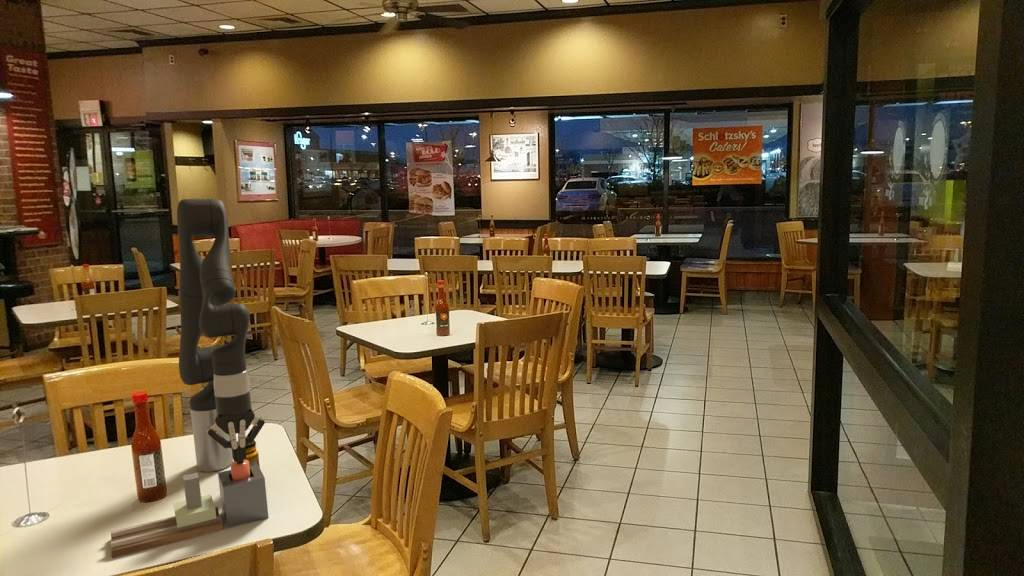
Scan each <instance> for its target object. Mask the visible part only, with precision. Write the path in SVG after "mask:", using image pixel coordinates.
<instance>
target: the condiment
mask: <svg viewBox="0 0 1024 576" xmlns="http://www.w3.org/2000/svg"><path fill="white" fill-rule="evenodd" d="M237 445H239V443H238V440H237ZM245 449H246V460H248V461H249V466H251V465H255V464H258V466H259V468H260V469H261V466H260V455H259V450H258V449H257V442H256V441H255V439H254V441H253V442H252V443H249V444H247V445H246V447H245ZM265 487H266V485H265Z"/></svg>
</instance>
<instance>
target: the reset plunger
mask: <svg viewBox="0 0 1024 576" xmlns="http://www.w3.org/2000/svg"><path fill="white" fill-rule="evenodd" d="M230 470H231V474H232V481H237V480H241V479H245V478H250V468H249V461H248V460H244V463H239V464H237V462H234V461H233V462H232V463H231V465H230Z"/></svg>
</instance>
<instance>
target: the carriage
mask: <svg viewBox="0 0 1024 576" xmlns="http://www.w3.org/2000/svg"><path fill="white" fill-rule="evenodd" d="M182 478H183V479H182V480H183V486H184V487H183V488H184V495H185V500H180V501H176V502H173V508H174V516H175V517H176V522H177V528H179V527H184V526H188V525H192V524H196V523H200V522H204V521H208V520H212V519H216V510H215V506H216V505H215V503H214V500H213V497H212V494H206V495H202V493H201V487H200V479H199V474H198V472H195V473H188V474H185V475H183V476H182Z"/></svg>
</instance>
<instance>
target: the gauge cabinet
mask: <svg viewBox="0 0 1024 576" xmlns="http://www.w3.org/2000/svg"><path fill="white" fill-rule="evenodd" d="M249 468H250V478H245V479H241V480H237V481H232V474H231V469H229V470H228V469H227V470H224V471H220V472H218V473H217V478H218V484H219V485H218V486H219V496H220V503H221V513H222V515H223V518H224V522H225V525H226V528H227V529H230V528H234V527H238V526H242V525H247V524H251V523H253V522H258V521H262V520H266V519H269V509H268V500H267V499H268V498H267V490H266V487H265V486H266V477H265V476H264V474H263V472H262V470H261V467H260V468H259V466H258V464H255V465H251V466H249Z"/></svg>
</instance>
